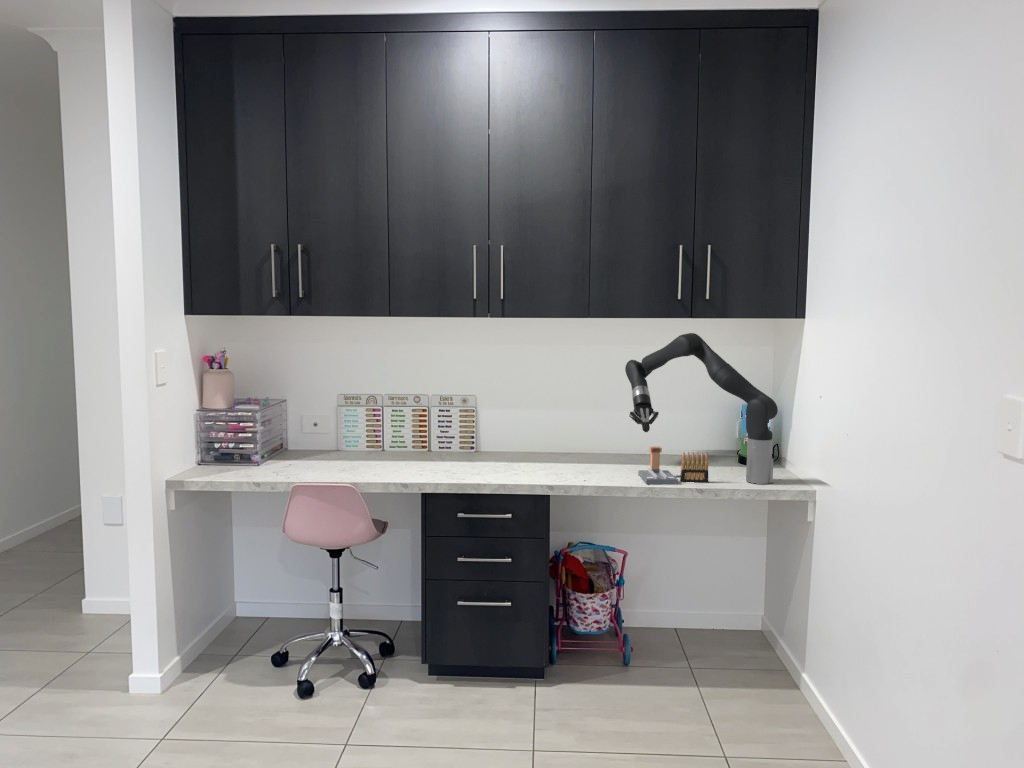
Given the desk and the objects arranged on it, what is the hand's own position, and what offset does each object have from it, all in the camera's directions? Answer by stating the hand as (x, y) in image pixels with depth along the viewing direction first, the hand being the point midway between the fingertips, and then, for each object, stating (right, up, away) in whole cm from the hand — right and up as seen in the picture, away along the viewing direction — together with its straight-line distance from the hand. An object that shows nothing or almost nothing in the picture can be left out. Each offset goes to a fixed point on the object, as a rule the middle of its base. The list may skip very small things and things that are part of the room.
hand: (646, 431), depth 335 cm
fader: (+1, -15, -16) cm, 22 cm away
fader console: (+1, -18, -21) cm, 27 cm away
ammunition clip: (+15, -19, -24) cm, 34 cm away
